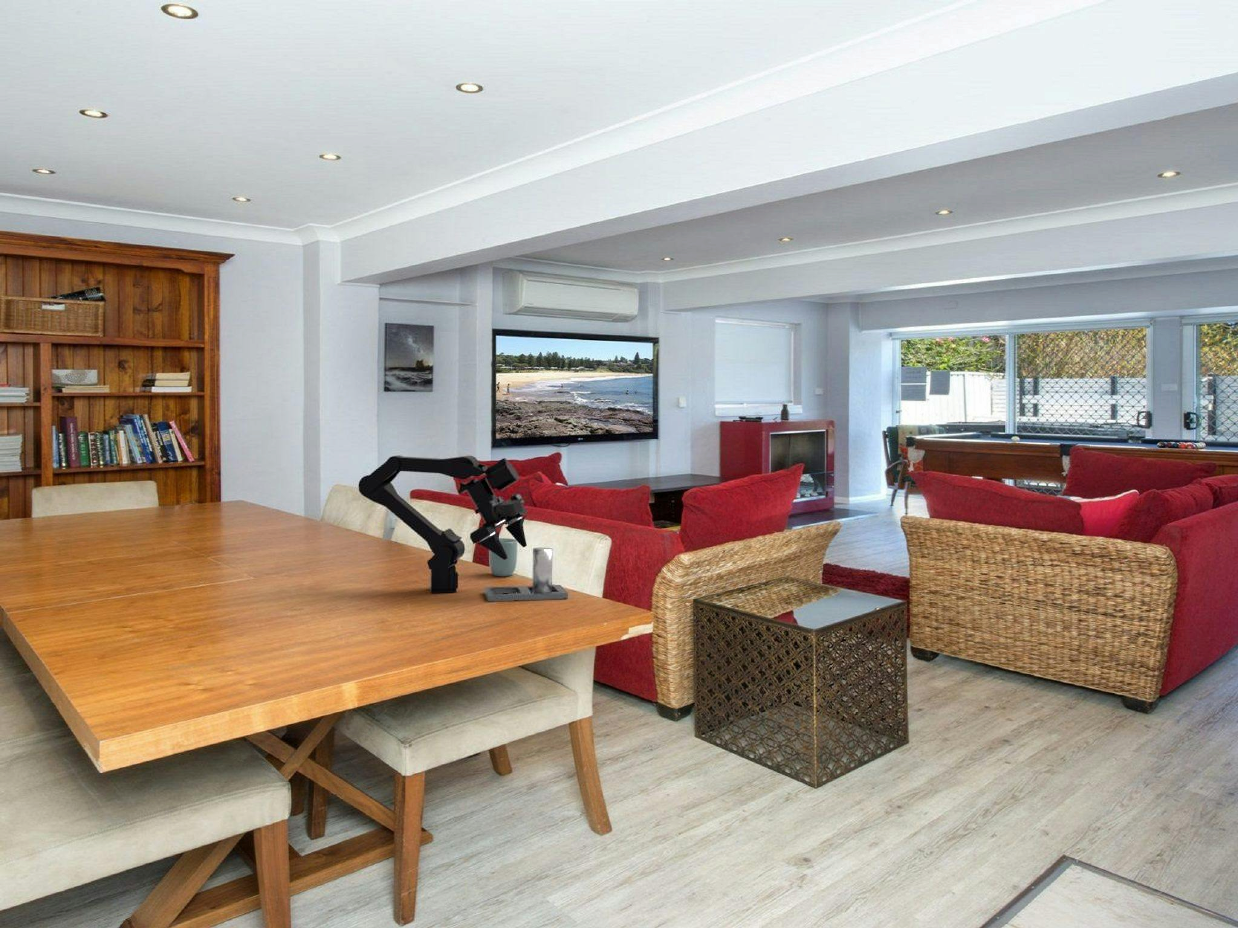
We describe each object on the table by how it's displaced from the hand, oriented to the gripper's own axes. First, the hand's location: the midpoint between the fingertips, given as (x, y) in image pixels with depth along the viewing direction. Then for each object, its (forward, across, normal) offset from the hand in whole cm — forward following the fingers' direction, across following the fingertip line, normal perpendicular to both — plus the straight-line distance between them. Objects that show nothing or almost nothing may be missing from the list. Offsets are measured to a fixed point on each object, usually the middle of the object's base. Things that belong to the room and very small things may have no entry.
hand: (515, 552), depth 229 cm
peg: (+13, 0, 0) cm, 13 cm away
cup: (+5, +16, +21) cm, 27 cm away
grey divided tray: (+11, -3, +2) cm, 11 cm away
